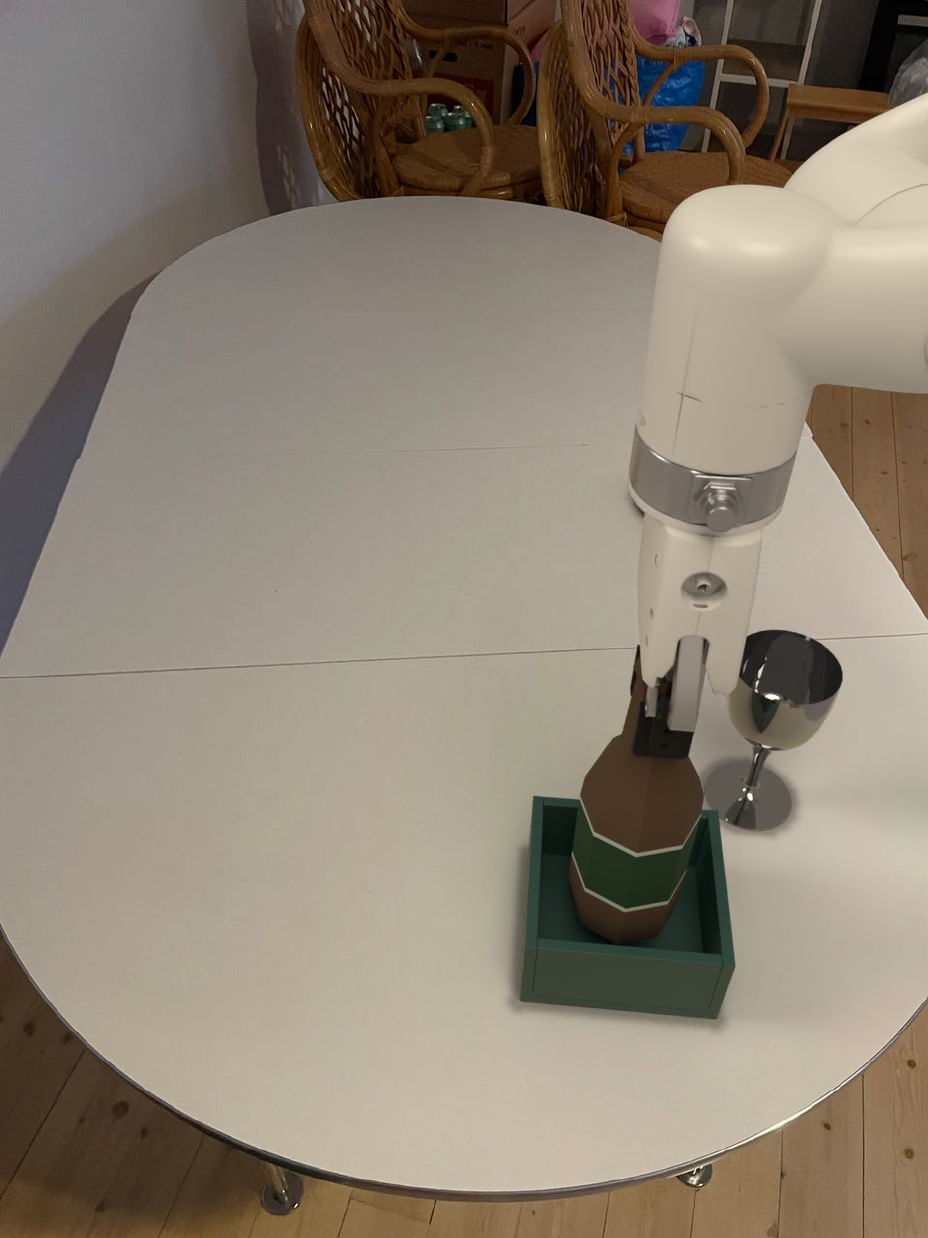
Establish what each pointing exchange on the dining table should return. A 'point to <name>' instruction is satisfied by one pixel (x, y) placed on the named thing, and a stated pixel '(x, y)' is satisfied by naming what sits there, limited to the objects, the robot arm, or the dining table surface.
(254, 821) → the dining table surface
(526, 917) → the tub
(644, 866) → the beer bottle
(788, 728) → the wine glass
